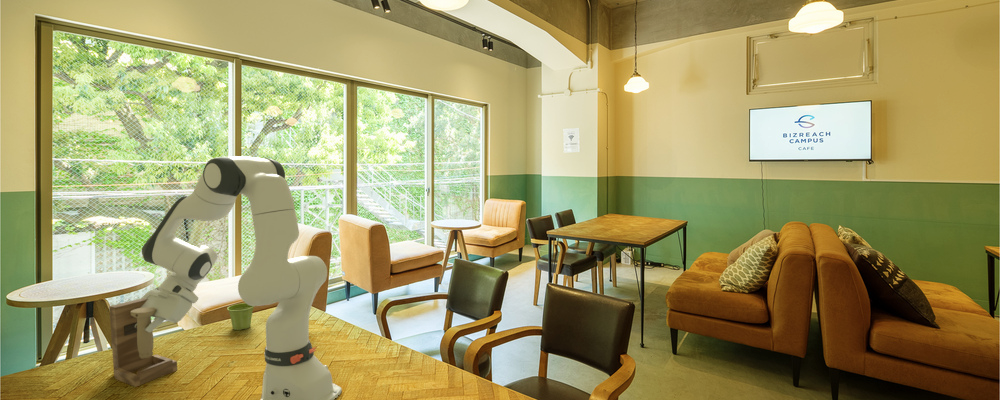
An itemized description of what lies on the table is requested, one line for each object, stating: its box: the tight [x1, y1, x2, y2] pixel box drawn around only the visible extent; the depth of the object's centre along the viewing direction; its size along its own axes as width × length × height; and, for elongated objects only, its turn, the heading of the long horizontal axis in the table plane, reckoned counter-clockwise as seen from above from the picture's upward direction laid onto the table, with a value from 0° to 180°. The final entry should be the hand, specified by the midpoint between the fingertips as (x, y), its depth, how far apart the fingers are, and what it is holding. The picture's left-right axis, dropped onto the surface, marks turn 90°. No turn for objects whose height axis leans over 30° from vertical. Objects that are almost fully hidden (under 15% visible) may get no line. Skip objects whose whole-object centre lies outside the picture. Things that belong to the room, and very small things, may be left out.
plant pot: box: [226, 302, 255, 331], centre depth 173 cm, size 9×9×9 cm
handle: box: [131, 307, 156, 359], centre depth 134 cm, size 5×6×15 cm
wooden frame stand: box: [108, 297, 178, 388], centre depth 135 cm, size 14×11×22 cm
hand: (142, 329), depth 133 cm, fingers closed on handle, 3 cm apart
